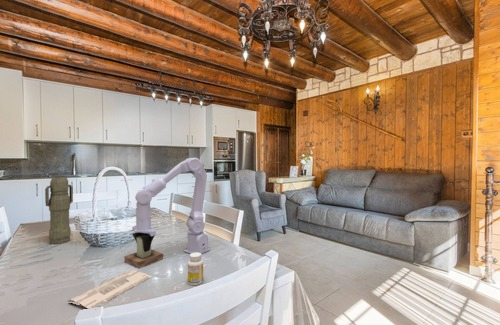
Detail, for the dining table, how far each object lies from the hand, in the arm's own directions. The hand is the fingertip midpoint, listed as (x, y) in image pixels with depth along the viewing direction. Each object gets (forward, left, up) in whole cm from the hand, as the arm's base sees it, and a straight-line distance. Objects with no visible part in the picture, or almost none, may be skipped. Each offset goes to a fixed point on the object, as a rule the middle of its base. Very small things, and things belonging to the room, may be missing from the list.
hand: (143, 249), depth 102 cm
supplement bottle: (-32, 0, -5) cm, 32 cm away
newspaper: (-12, +19, -6) cm, 23 cm away
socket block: (0, 0, -5) cm, 5 cm away
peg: (0, 0, -2) cm, 2 cm away
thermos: (+61, +11, -5) cm, 62 cm away
